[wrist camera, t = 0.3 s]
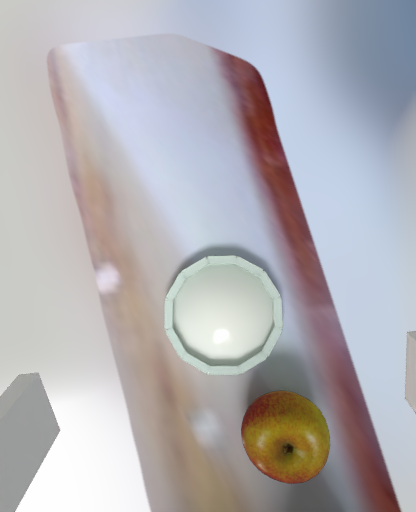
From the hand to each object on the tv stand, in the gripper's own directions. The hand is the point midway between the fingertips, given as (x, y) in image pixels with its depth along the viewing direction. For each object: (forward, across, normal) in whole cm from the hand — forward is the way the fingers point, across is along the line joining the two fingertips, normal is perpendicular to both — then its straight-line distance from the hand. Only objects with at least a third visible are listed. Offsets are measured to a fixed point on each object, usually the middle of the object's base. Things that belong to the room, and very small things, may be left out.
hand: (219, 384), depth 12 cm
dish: (+30, +2, +14) cm, 33 cm away
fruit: (+23, -3, +26) cm, 35 cm away
